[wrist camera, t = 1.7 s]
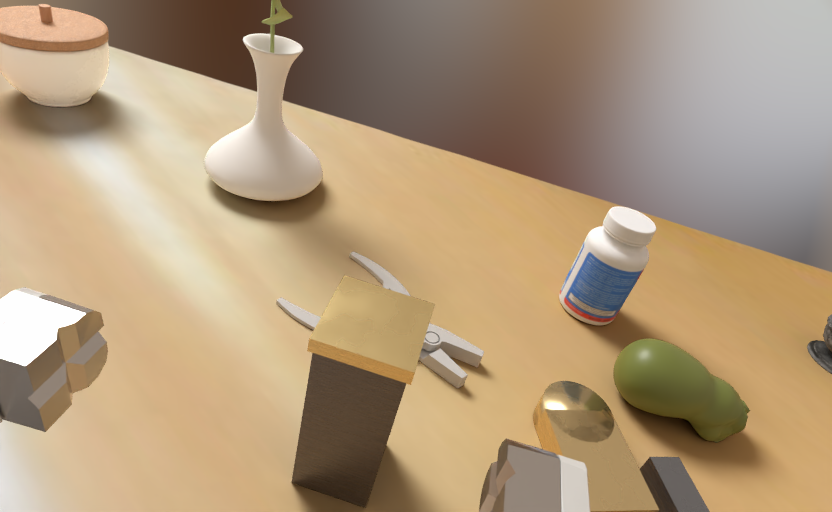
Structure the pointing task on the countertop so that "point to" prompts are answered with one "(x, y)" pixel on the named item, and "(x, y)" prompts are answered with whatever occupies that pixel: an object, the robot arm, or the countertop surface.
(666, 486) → the grey metal bars
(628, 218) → the pill bottle
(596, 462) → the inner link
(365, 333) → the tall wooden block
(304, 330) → the countertop surface
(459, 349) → the pliers
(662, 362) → the pear
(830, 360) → the salt shaker
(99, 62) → the lidded jar
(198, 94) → the countertop surface
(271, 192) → the flower in vase
